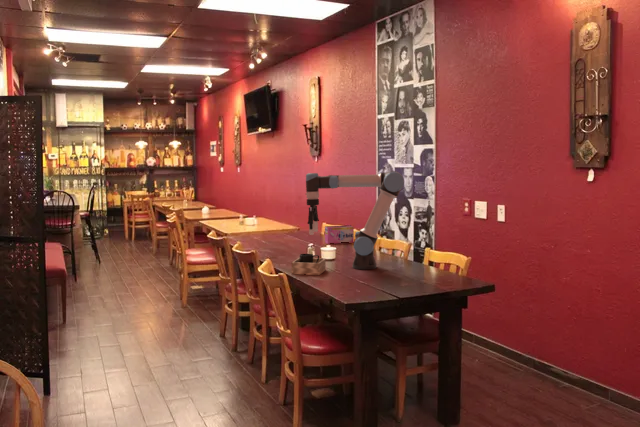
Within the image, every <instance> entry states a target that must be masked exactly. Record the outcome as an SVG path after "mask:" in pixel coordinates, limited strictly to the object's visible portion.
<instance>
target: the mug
mask: <svg viewBox="0 0 640 427" xmlns="http://www.w3.org/2000/svg"><path fill="white" fill-rule="evenodd" d="M314 257H317V258H318V259H317V261H316V263H317V262H318V260H319V258H320V255H319V254H313V253H300V254H299V258H300V262H301V263H313V258H314Z"/></svg>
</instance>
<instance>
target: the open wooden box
mask: <svg viewBox="0 0 640 427" xmlns="http://www.w3.org/2000/svg"><path fill="white" fill-rule="evenodd" d="M317 259H318V257H317V258H316V257H315V258H314V257H313V263H301V262H300V257H298V258H296V259H295V260H293V261H292V262H291V275H304V274H306V276H307V275H309V276H320V275H321V274H322V273H324V272H325V271H326V268H327V267H326V258H320V257H319V260H318V262H317V263H316V261H317Z"/></svg>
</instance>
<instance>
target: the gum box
mask: <svg viewBox="0 0 640 427" xmlns="http://www.w3.org/2000/svg"><path fill="white" fill-rule="evenodd" d="M354 228H355V227H354V225H353V226H352V225H351V224H350V225H349V224H347V225H329V226H328V225H325V226H324V243H325V244H327V245H328V244H329V245H330V243H334V244H342V243H341V242H349V243H348V244H351V243H353V244H354V242H355V240H354V237H355V234H354V230H355V229H354Z"/></svg>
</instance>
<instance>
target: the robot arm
mask: <svg viewBox="0 0 640 427" xmlns="http://www.w3.org/2000/svg"><path fill="white" fill-rule="evenodd" d="M404 185H405V179H404V176H403V175H402V174H401V173H400V172H399V171H395V170H392V171H389V172H380V173H379V174H345V175H344V174H341V175H339V174H338V175H337V174H336V175H335V174H331V175H330V174H329V175H322V176H321V175H320V176H319V174H318V172H315V173H311V172H309V173H307V174H305V188H306V189H305V192H306V193H305V195H306V206H309V207H308V217H307V218H308V221H307V224H308V234H309V236H310V235H311V236H314V235H315V233H318V232H319V221H320V219H319V214H318V212H319V211H318V206H319V205H320V199H319V197H320V191H319V190H321V189H327V190H328V189H332V190H333V189H338V188H377V187H378V188H379V192H380V193H379V195H378V197H377V199H376V202H375V204H374V206H373V208H372V210H371V213H370V215H369V216H368V219H367V221H366V222H365V225H364V227H363V228H361V229H360V230H359V231H356V232H355V234H354V237H355V240H354V242H353V249H354V251H355V252H354V253H355V256H354V258H353V261H352V268H353V269H355V270H375V269H376V268H377V261H376V258H375V244H376V243H377V240H378V238H379V236H378V233H379V230H380V228H381V226H382V224H383V222H384V220H385V218H386V215H387V213H388V211H389V209H390V208H391V205H392V204H393V201H394V199H396V198H398V196H399V194H400V192H401V191H402V189H403V187H404Z"/></svg>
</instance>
